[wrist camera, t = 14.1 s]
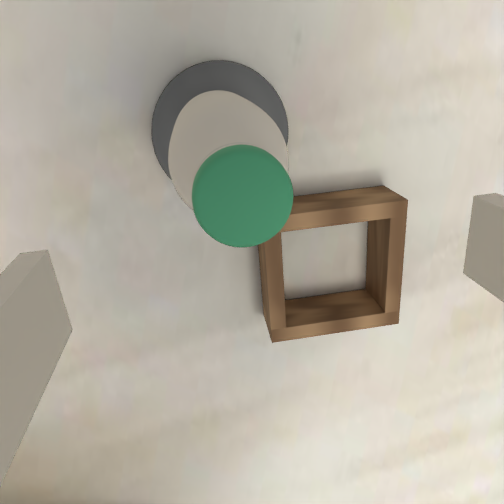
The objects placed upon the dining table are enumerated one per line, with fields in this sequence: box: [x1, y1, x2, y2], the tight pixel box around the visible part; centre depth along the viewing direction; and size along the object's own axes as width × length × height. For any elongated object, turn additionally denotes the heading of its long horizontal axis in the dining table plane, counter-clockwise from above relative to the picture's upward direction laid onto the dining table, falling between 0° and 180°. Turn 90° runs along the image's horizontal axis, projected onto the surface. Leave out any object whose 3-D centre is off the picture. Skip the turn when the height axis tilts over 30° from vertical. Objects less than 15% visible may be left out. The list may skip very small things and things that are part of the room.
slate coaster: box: [152, 61, 288, 180], centre depth 37 cm, size 12×12×1 cm
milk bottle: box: [168, 90, 293, 247], centre depth 27 cm, size 8×8×20 cm
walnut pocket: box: [258, 186, 408, 343], centre depth 41 cm, size 13×13×5 cm
